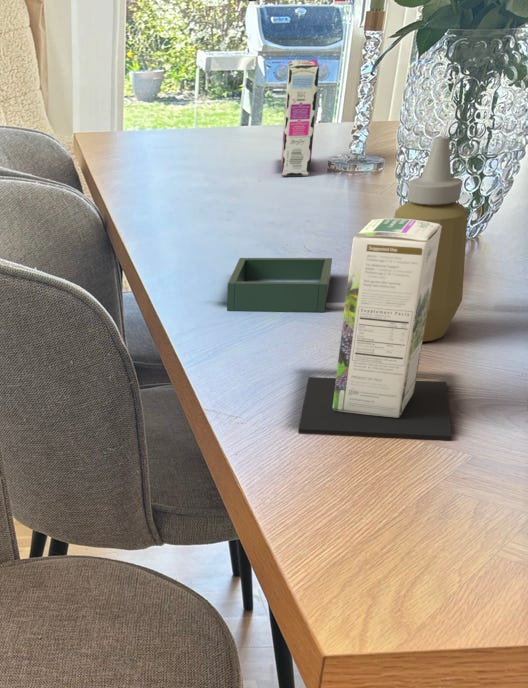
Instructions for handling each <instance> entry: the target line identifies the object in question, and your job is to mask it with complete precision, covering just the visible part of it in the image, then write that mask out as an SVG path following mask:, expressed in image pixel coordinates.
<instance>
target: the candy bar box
mask: <svg viewBox="0 0 528 688" xmlns="http://www.w3.org/2000/svg"><path fill="white" fill-rule="evenodd" d="M287 66H288V67H287V80H286V90H285V104H284V105H285V106H284V119H283V131H282V132H283V133H282V146H281V147H282V148H281V162H280V163H281V165H280V166H281V167H280V168H281V169H280V170H281V171H280V172H281V177H305V176H306V177H308V176H310V172H311V164H312V153H313V143H314V132H315V120H316V109H317V99H318V98H317V97H318V87H319V86H318V85H319V75H320V65H319V62H318V59H292V60H288V65H287Z"/></svg>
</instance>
